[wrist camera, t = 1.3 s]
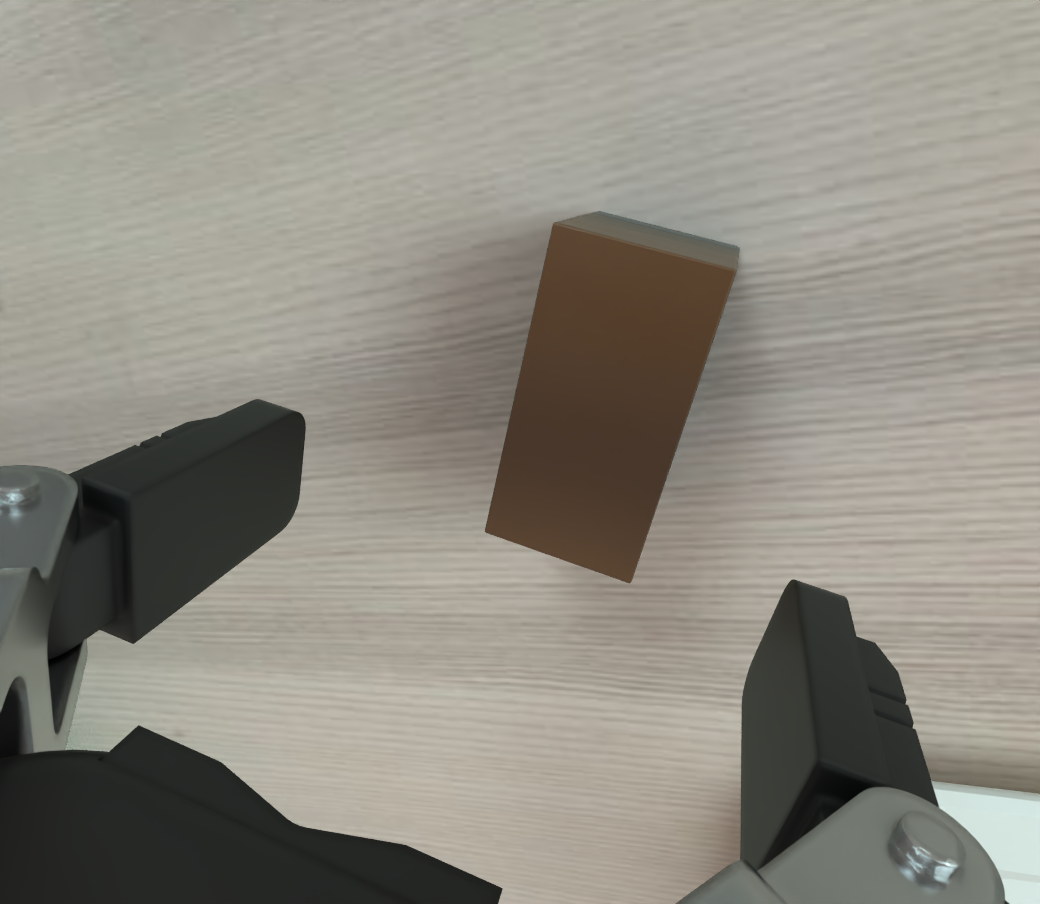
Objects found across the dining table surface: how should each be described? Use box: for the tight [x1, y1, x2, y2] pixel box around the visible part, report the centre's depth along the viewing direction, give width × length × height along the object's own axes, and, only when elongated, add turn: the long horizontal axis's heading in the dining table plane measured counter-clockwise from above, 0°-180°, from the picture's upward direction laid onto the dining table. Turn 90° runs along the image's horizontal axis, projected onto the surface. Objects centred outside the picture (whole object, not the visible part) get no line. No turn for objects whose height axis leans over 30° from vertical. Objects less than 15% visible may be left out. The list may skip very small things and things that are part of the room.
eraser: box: [485, 211, 739, 583], centre depth 19 cm, size 8×4×5 cm, turn 167°
